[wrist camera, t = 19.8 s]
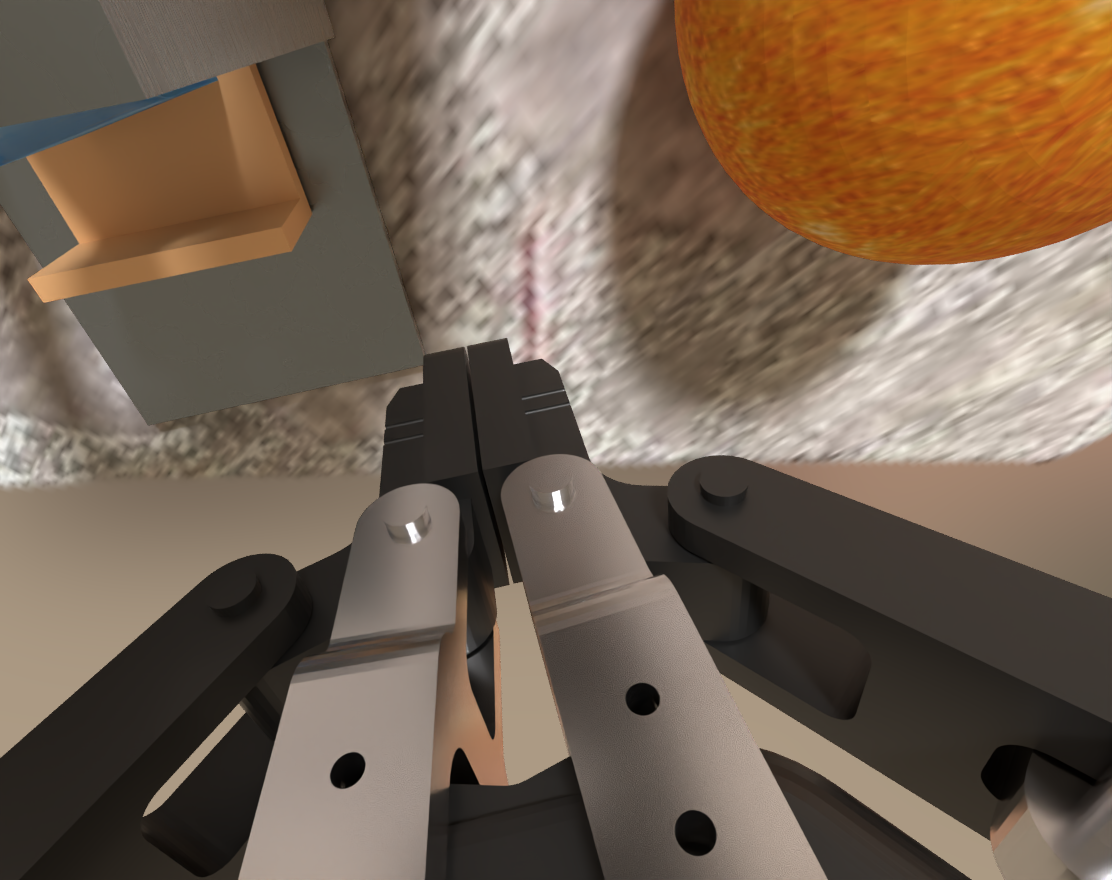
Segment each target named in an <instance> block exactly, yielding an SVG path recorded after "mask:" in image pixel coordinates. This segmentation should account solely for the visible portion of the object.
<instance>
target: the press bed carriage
mask: <svg viewBox="0 0 1112 880" xmlns="http://www.w3.org/2000/svg"><path fill="white" fill-rule="evenodd" d="M216 77H217V78H218V81H215V82H213V83H210V84H208V85H205V86H203V87H201V88H198V89H196V90H193V91H191V92H188V93H186V94H183V95H181V96H179V97H176V98H174V99H171V100H169V101H166V102H164V103H161V104H159V105H156V106H154V107H152V108H149V109H147V110H144V111H142V112H139V113H137V114H134V115H132V116H130V117H127V118H125V119H122V120H120V121H117V122H115V123H112V124H110V125H107V126H105V127H103V128H100V129H98V130H95V131H93V132H90V133H88V134H85V135H83V136H80V137H78V138H75V139H72V140H70V141H67V142H64V143H62V144H59V145H56V146H54V147H51V148H48V149H45V150H43V151H40V152H37V153H35V154H32V155H29V156H27V157H26V158H27V160H28V161H29V163H30V164H31V166H32V168H33V169H34V171H35V173H36V174H37V176H38V177H39V179H40V181H41V182H42V184H43V186H44V187H45V189H46V190H47V192H48V194H49V195H50V197H51V198H52V200H53V202H54V203H55V205H56V207H57V208H58V210H59V211H60V213H61V215H62V216H63V218H64V220H65V221H66V223H67V224H68V226H69V228H70V229H71V231H72V232H73V234H74V236H75V237H76V239H77V241H78V242H79V244H78V245H77V246H75V247H74V248H72V249H71V250H69V251H68V252H66V253H65V254H63V255H62V256H60V257H59V258H57V259H56V260H55V261H53V262H52V263H50V264H49V265H47V266H46V267H44V268H43V269H41V270H40V271H38V272H37V273H35V274H34V275H33V276H31V277H30V278H28V279H27V280H28V281H29V282H30V284H31V285H32V287H33V288H34V290H35V291H36V293H37V294H38V295H39V297H40V298H41V300H42V301H43V303H45V302H50V301H54V300H59V299H64V298H69V297H74V296H79V295H83V294H88V293H93V292H98V291H103V290H108V289H112V288H117V287H122V286H127V285H132V284H137V283H141V282H146V281H151V280H156V279H161V278H166V277H170V276H175V275H180V274H185V273H190V272H195V271H199V270H204V269H209V268H214V267H219V266H223V265H228V264H233V263H238V262H243V261H248V260H252V259H257V258H262V257H267V256H272V255H277V254H281V253H286V252H291V251H292V250H293V248H294V246H295V245H296V243H297V241H298V239H299V237H300V235H301V234H302V232H303V230H304V228H305V226H306V225H307V223H308V221H309V219H310V217H311V215H312V211H311V209H310V206H309V203H308V201H307V198H306V195H305V193H304V190H303V188H302V185H301V182H300V180H299V177H298V174H297V172H296V169H295V166H294V164H293V161H292V159H291V156H290V153H289V151H288V148H287V145H286V143H285V140H284V137H283V135H282V132H281V130H280V127H279V124H278V122H277V119H276V116H275V114H274V111H273V108H272V106H271V103H270V101H269V98H268V95H267V93H266V90H265V87H264V85H263V82H262V79H261V77H260V74H259V72H258V69H257V66H256V64H252V65H249V66H246V67H243V68H240V69H237V70H234V71H231V72H228V73H225V74H222V75H219V76H216Z"/></svg>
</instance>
